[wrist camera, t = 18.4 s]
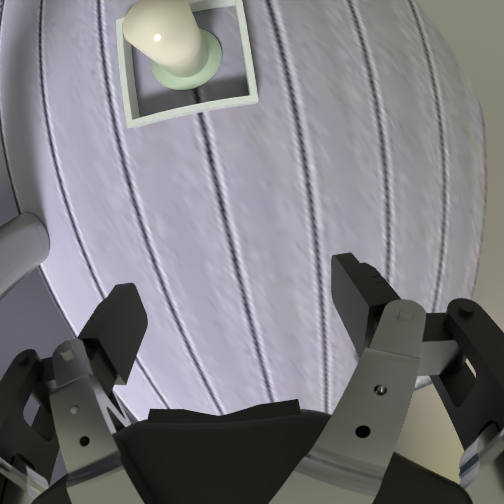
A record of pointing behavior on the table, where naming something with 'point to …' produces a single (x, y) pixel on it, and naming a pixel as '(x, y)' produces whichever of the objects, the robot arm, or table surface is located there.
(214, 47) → the pad
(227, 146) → the table surface
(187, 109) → the square picture frame
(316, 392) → the table surface
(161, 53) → the canister
